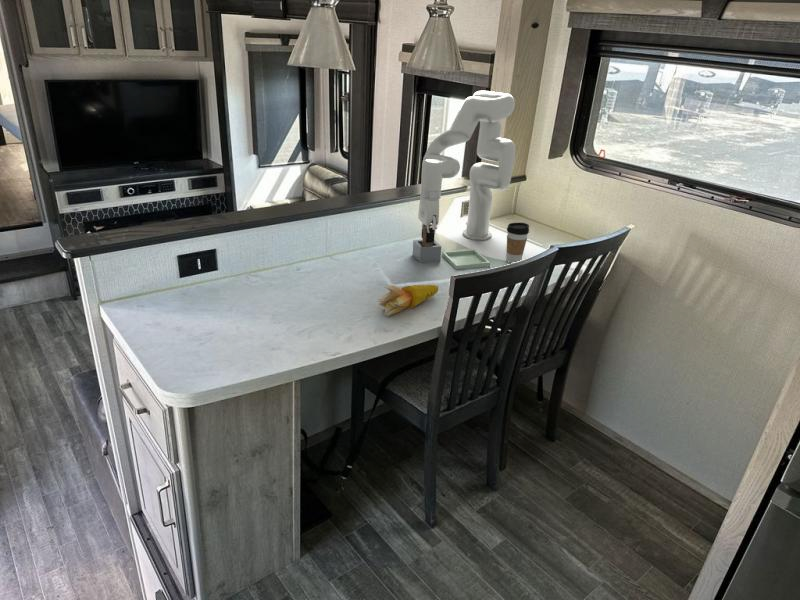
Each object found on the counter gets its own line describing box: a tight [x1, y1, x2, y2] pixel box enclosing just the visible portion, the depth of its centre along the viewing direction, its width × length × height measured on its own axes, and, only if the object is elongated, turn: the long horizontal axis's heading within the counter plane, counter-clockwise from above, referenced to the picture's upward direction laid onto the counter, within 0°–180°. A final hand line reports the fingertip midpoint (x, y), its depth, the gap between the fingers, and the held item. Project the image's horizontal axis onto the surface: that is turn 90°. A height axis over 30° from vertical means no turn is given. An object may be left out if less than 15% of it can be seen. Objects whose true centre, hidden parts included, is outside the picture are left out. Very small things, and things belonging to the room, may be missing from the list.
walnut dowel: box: [421, 226, 433, 247], centre depth 221 cm, size 4×4×12 cm
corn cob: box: [376, 284, 439, 318], centre depth 187 cm, size 8×8×25 cm
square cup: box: [412, 239, 442, 264], centre depth 223 cm, size 8×8×7 cm
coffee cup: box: [505, 222, 530, 264], centre depth 224 cm, size 8×8×15 cm
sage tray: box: [441, 248, 491, 270], centre depth 223 cm, size 14×14×2 cm
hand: (427, 239), depth 221 cm, fingers closed on walnut dowel, 4 cm apart
